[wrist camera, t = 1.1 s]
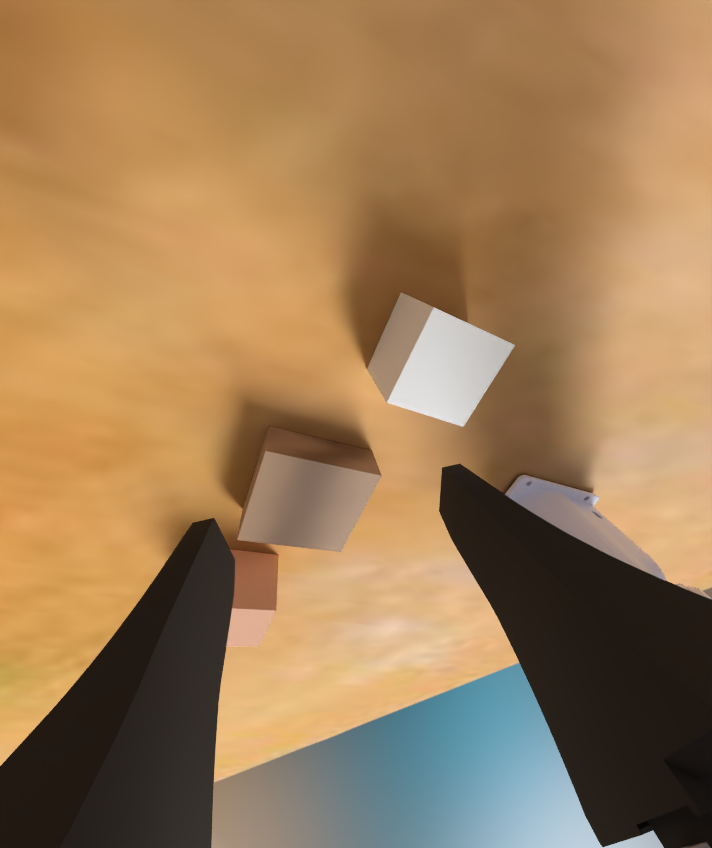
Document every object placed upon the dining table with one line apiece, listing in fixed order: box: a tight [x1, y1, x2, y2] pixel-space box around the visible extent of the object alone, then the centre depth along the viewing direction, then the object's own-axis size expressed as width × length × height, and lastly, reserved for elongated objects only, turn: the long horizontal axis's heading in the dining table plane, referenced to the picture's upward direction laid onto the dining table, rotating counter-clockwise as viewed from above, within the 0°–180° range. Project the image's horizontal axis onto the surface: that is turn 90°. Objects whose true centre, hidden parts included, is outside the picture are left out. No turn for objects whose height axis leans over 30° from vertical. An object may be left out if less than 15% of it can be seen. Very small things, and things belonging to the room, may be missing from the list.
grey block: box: [367, 292, 515, 427], centre depth 16 cm, size 4×4×4 cm
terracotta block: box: [226, 549, 278, 647], centre depth 23 cm, size 4×4×4 cm
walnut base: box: [237, 426, 381, 552], centre depth 21 cm, size 7×7×3 cm
